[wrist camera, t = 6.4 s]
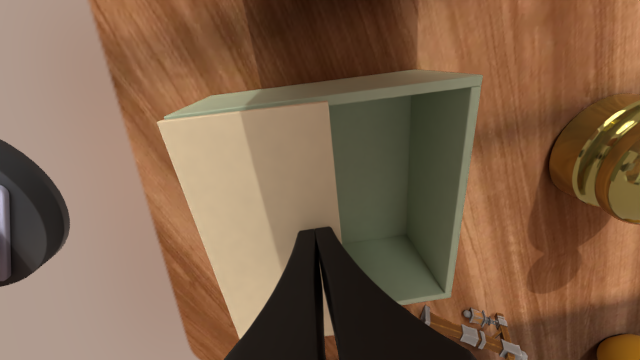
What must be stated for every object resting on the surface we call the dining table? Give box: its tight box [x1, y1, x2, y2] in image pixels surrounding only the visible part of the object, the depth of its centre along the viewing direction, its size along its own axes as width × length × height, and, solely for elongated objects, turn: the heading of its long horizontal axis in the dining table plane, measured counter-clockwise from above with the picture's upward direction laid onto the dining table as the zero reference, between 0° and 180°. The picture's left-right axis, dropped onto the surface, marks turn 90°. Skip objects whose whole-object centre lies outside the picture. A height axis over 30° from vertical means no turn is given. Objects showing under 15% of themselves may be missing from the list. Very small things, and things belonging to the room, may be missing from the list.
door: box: [157, 101, 342, 339], centre depth 11 cm, size 6×12×1 cm, turn 6°
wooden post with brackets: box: [420, 305, 527, 360], centre depth 23 cm, size 2×8×4 cm, turn 85°
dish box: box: [164, 69, 483, 305], centre depth 15 cm, size 12×12×6 cm
